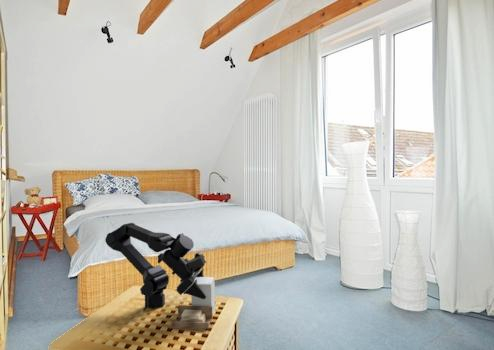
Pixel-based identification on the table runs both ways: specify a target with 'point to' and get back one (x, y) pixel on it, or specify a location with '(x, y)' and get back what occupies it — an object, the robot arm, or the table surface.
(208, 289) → the supplement box
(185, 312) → the offcut stack
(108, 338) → the table surface
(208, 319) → the tray
